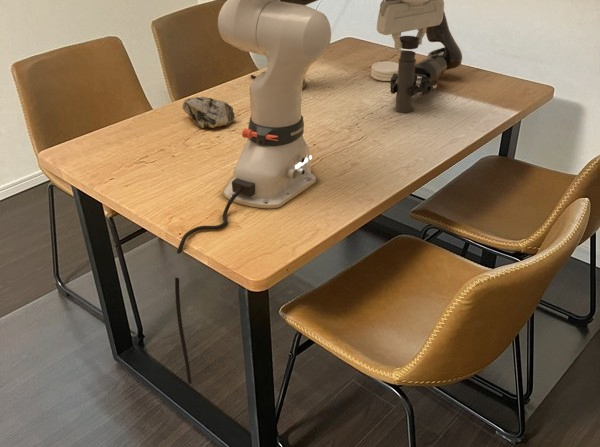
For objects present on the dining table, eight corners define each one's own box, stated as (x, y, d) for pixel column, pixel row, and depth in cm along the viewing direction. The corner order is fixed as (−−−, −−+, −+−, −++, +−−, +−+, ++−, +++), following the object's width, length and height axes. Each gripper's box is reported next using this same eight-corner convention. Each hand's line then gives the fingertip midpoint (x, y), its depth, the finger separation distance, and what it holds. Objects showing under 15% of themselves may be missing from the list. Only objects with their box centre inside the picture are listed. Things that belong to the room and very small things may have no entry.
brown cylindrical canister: (406, 114, 174) (411, 56, 165) (392, 110, 176) (396, 53, 167) (414, 109, 177) (419, 52, 168) (400, 105, 179) (404, 49, 170)
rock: (239, 121, 170) (237, 97, 166) (209, 132, 164) (207, 107, 160) (207, 109, 179) (204, 85, 175) (178, 118, 173) (174, 94, 169)
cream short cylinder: (368, 72, 203) (368, 61, 202) (398, 70, 204) (398, 60, 202) (374, 82, 195) (374, 71, 193) (405, 81, 196) (406, 70, 194)
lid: (405, 42, 170) (406, 34, 169) (422, 46, 166) (423, 38, 165) (393, 46, 166) (394, 38, 165) (410, 50, 163) (411, 42, 162)
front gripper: (389, -1, 152) (385, 55, 159) (450, -10, 161) (443, 43, 169) (373, -5, 157) (370, 49, 164) (433, -14, 166) (428, 38, 173)
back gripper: (403, 57, 184) (378, 74, 172) (449, 65, 178) (426, 83, 166) (401, 82, 188) (376, 100, 176) (446, 90, 182) (424, 109, 170)
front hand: (408, 46), depth 166 cm, fingers closed on lid, 5 cm apart
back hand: (401, 92), depth 171 cm, fingers closed on brown cylindrical canister, 4 cm apart
